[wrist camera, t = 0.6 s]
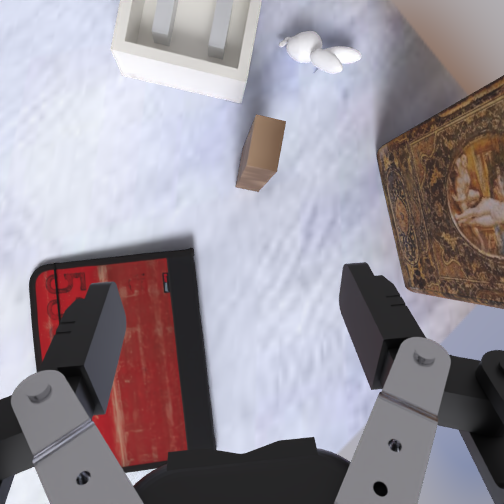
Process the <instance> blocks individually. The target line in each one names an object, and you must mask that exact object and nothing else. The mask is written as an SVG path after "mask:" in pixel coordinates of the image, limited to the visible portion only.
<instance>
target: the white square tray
mask: <svg viewBox="0 0 504 504" xmlns="http://www.w3.org/2000/svg"><path fill="white" fill-rule="evenodd" d="M261 2H262V0H120V4H119V9H118V14H117V19H116V24H115V29H114V34H113V39H112V45H111V51H112V54H113V56H114V58H115V60H116V62H117V65H118V67H119V69H120V71H121V74H122V76H126V77H130V78H134V79H138V80H143V81H147V82H151V83H155V84H160V85H164V86H168V87H172V88H177V89H181V90H185V91H189V92H194V93H198V94H202V95H206V96H211V97H215V98H219V99H223V100H228V101H232V102H236V103H240V104H241V102H242V98H243V95H244V91H245V87H246V83H247V78H248V73H249V67H250V62H251V56H252V51H253V46H254V40H255V35H256V29H257V24H258V19H259V13H260V8H261Z"/></svg>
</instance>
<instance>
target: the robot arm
mask: <svg viewBox="0 0 504 504" xmlns="http://www.w3.org/2000/svg"><path fill="white" fill-rule="evenodd" d="M339 305H340V310H341V314H342V316H343V319H344V321H345V324H346V327H347V329H348V332H349V334H350V337H351V339H352V342H353V344H354V347H355V349H356V352H357V355H358V357H359V360H360V362H361V365H362V367H363V370H364V372H365V375H366V377H367V380H368V383H369V385H370V388H371V390H374V389H383V390H382V392H380V393H379V395H378V397H377V400H376V402H375V405H374V407H373V409H372V412H371V414H370V417H369V419H368V422H367V424H366V426H365V429H364V431H363V434H362V436H361V439H360V441H359V444H358V446H357V449H356V451H355V453H354V456H353V458H352V461H351V462H350V461H348V460H346V459H344V458H343V457H341V456H339V455H337V454H335V453H332V452H329V451H326V450H323V449H317V448H316V443H315V439H314V437H310V438H300V439H291V440H281V441H277V442H274V443H271V444H269V445H266V446H264V447H261V448H258V449H256V450H253V451H250V452H248V453H245V454H236V453H230V452H224V451H218V450H212V449H206V448H203V449H193V450H183V451H173V452H168V459H167V464H166V465H163V466H161V467H159V468H157V469H155V470H153V471H152V472H150V473H149V474H147V475H146V476H144V477H143V478H142V479H141V480H139V481H138V482H137V483H136V484H135V485H134V486H133V485H132V484H131V482H130V480H129V479H128V477H127V476H126V474H125V472H124V471H123V469H122V467H121V466H120V464H119V462H118V461H117V459H116V458H115V456H114V454H113V453H112V451H111V449H110V448H109V446H108V444H107V443H106V441H105V440H104V438H103V436H102V435H101V433H100V431H99V430H98V428H97V427H96V425H95V423H94V422H93V421H92V417H93V415H104V414H106V410H107V406H108V401H109V397H110V393H111V389H112V385H113V381H114V377H115V373H116V369H117V365H118V361H119V356H120V352H121V348H122V344H123V340H124V336H125V332H126V315H125V311H124V308H123V304H122V301H121V298H120V295H119V291H118V288H117V285H116V283H115V282H101V283H91V284H90V286H89V288H88V291H87V293H86V296H85V298H84V299H76V300H75V301H74V302H73V303H72V304H71V305H70V306H69V307H68V308H67V309H66V310H65V312H64V314H63V316H62V319H61V321H60V325H58V328H57V330H56V332H55V335H54V337H53V339H52V341H51V343H50V346H49V348H48V350H47V352H46V355H45V357H44V359H43V361H42V364H41V366H40V368H39V370H38V372H37V373H35V374H33V375H31V376H29V377H27V378H26V379H25V380H23V381H22V382H21V383H20V384H19V385H18V386H17V388H16V389H15V390H14V392H13V394H12V395H11V396H9V397H6V398H3V399H1V400H0V504H5V502H6V499H7V496H8V493H9V490H10V487H11V484H12V481H13V478H14V475H15V474H17V473H20V472H22V471H25V470H27V469H30V468H32V467H35V469H36V471H37V474H38V476H39V478H40V481H41V483H42V485H43V488H44V490H45V492H46V495H47V497H48V500H49V502H50V504H417V503H418V500H419V496H420V492H421V488H422V484H423V480H424V475H425V472H426V468H427V464H428V460H429V456H430V452H431V448H432V444H433V440H434V437H435V433H436V428H437V425H439V426H444V427H449V428H453V429H458V430H459V431H460V434H461V436H462V437H463V440H464V442H465V444H466V446H467V448H468V450H469V452H470V454H471V456H472V458H473V460H474V462H475V464H476V466H477V468H478V471H479V472H480V474H481V476H482V478H483V481H484V483H485V484H486V487H487V489H488V491H489V493H490V495H491V497H492V499H493V501H494V503H495V504H504V351H501V350H494V351H490V352H487V353H485V355H483V357H482V359H481V361H478V360H473V359H467V358H461V357H456V356H452V355H449V354H448V353H447V351H446V350H445V349H444V348H443V347H442V346H441V345H440V344H438V343H436V342H435V341H433V340H430V339H427V338H426V337H425V335H424V334H423V332H422V330H421V329H420V327H419V325H418V324H417V322H416V321H415V319H414V317H413V316H412V314H411V312H410V311H409V309H408V307H407V306H405V302H404V301H403V299H402V297H400V294H399V292H398V291H397V289H396V287H395V286H394V284H393V283H391V282H390V281H389V280H387V279H386V278H385V277H384V276H382V275H380V276H374V274H373V273H372V271H371V269H370V267H369V265H368V264H367V263H366V262H364V263H351V264H345V265H344V266H343V272H342V279H341V287H340V294H339Z"/></svg>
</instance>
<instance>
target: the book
mask: <svg viewBox="0 0 504 504" xmlns="http://www.w3.org/2000/svg"><path fill="white" fill-rule="evenodd" d="M377 160H378V165H379V170H380V175H381V180H382V185H383V189H384V194H385V198H386V203H387V207H388V212H389V216H390V220H391V225H392V229H393V234H394V238H395V243H396V247H397V251H398V256H399V260H400V265H401V269H402V274H403V278H404V282H405V287H406V288H407V289H409V290H410V291H412V292H415V293H421V294H426V295H431V296H437V297H442V298H447V299H453V300H458V301H464V302H469V303H474V304H480V305H485V306H490V307H496V308H501V309H504V75H503V76H502V77H500V78H498V79H497V80H495V81H493V82H491V83H490V84H488V85H486V86H484V87H483V88H481V89H479V90H478V91H476V92H474V93H472V94H471V95H469V96H467V97H465V98H464V99H462V100H460V101H459V102H457V103H455V104H453V105H452V106H450V107H448V108H446V109H445V110H443V111H441V112H440V113H438V114H436V115H434V116H433V117H431V118H429V119H428V120H426V121H424V122H422V123H421V124H419V125H417V126H415V127H414V128H412V129H410V130H409V131H407V132H405V133H403V134H402V135H400V136H398V137H396V138H395V139H393V140H391V141H390V142H388V143H386V144H385V145H383V146H382V147H381V148H380V149H379V150H378V152H377Z"/></svg>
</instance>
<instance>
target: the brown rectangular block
mask: <svg viewBox="0 0 504 504" xmlns="http://www.w3.org/2000/svg"><path fill="white" fill-rule="evenodd" d="M285 124H286V121H282V120H278V119H274V118H269V117H265V116H261V115H256V116H255V118H254V121H253V124H252V126H251V129H250V131H249V134H248V136H247V139H246V142H245V144H244V147H243V150H242V155H241V160H240V166H239V171H238V177H237V182H236V187H237V188H242V189H247V190H252V191H257V192H259V190H260V189H261V188H262V187H263V186H264V185H265V184H266V183H267V182H268V181H269V180H270V178H271V177H272V176H273V175H274V174H275V173H276V172H277V168H278V163H279V157H280V152H281V146H282V141H283V135H284V130H285Z"/></svg>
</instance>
